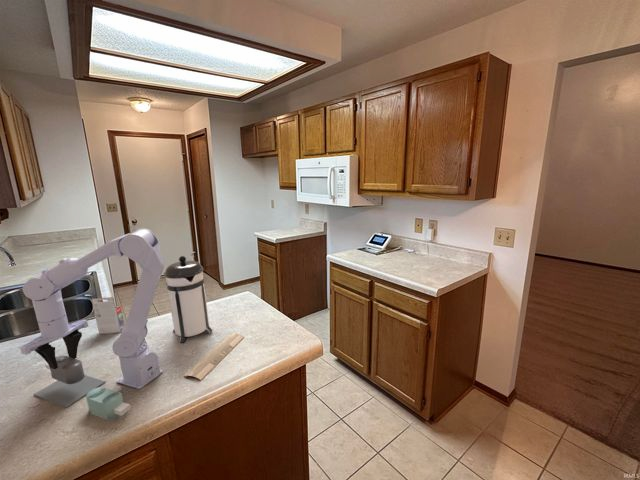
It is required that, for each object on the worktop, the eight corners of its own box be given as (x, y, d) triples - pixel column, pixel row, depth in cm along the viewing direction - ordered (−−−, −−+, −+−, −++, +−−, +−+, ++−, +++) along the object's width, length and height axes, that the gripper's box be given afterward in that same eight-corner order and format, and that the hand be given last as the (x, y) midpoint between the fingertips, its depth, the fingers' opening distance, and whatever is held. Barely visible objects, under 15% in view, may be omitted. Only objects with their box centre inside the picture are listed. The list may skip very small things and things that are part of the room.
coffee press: (222, 322, 118) (214, 250, 111) (199, 345, 103) (188, 263, 96) (183, 320, 121) (172, 249, 114) (155, 342, 106) (141, 261, 99)
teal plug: (85, 411, 76) (82, 396, 75) (101, 400, 79) (98, 385, 78) (119, 424, 71) (115, 408, 70) (134, 411, 75) (131, 396, 74)
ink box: (104, 329, 116) (96, 294, 112) (125, 328, 116) (119, 293, 113) (98, 334, 112) (90, 298, 109) (120, 333, 113) (113, 297, 110)
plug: (88, 376, 83) (85, 362, 82) (72, 385, 79) (68, 371, 78) (60, 366, 87) (56, 352, 86) (43, 374, 83) (40, 360, 82)
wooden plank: (230, 337, 109) (229, 332, 109) (247, 339, 107) (246, 335, 107) (184, 379, 87) (183, 374, 87) (204, 383, 85) (203, 378, 85)
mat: (105, 382, 86) (105, 381, 86) (66, 408, 77) (66, 406, 77) (74, 372, 91) (73, 371, 91) (33, 395, 82) (33, 394, 82)
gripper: (72, 304, 87) (82, 345, 90) (7, 328, 74) (22, 376, 77) (88, 307, 84) (98, 349, 87) (24, 333, 71) (38, 382, 74)
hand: (63, 362), depth 82 cm, fingers closed on plug, 4 cm apart
